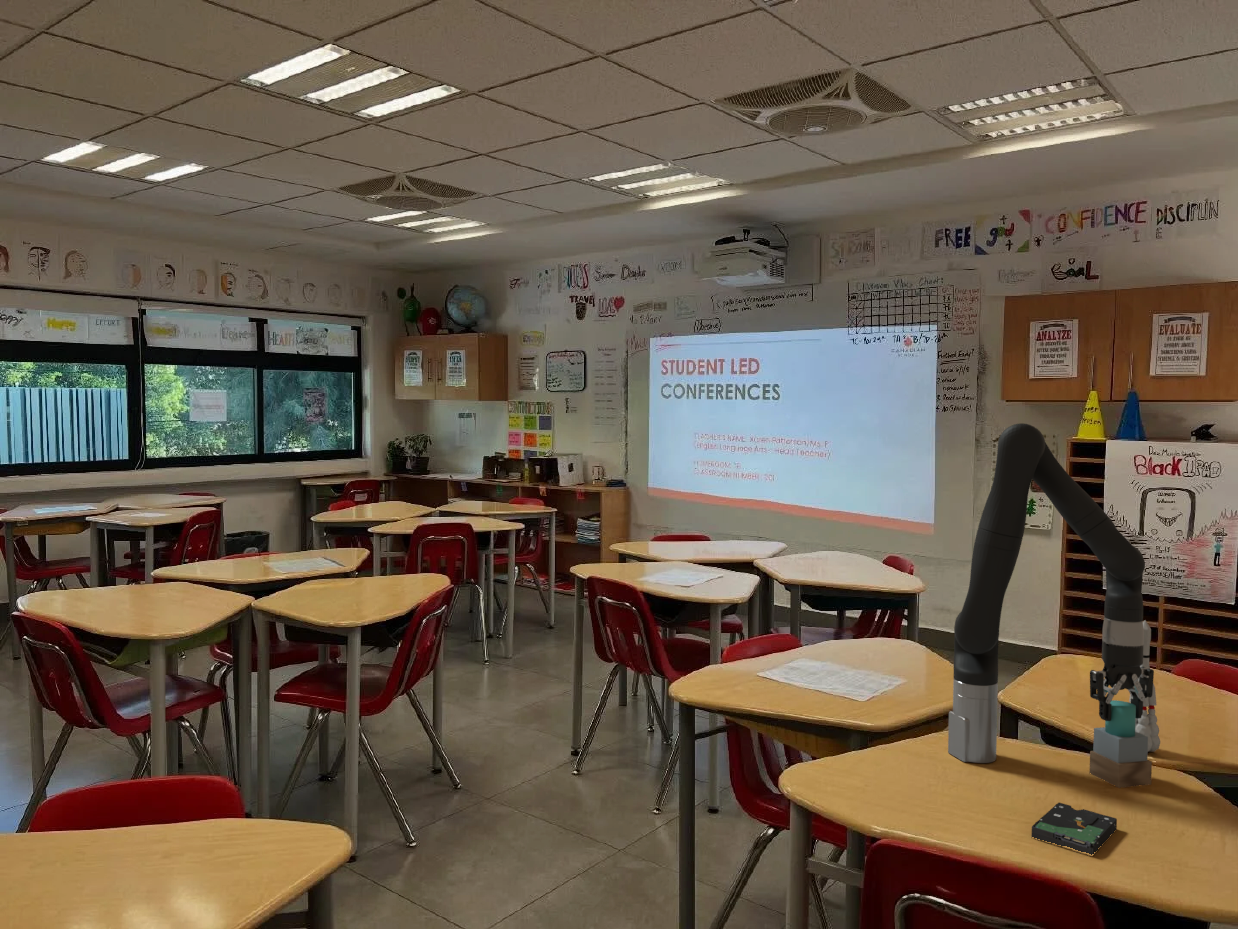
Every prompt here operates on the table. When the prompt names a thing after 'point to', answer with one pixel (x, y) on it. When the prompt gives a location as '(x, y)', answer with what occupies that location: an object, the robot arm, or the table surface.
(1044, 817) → the disk drive
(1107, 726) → the teal upright cylinder
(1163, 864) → the table surface
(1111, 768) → the base block
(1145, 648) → the rocket model
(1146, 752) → the middle block
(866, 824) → the table surface
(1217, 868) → the table surface
